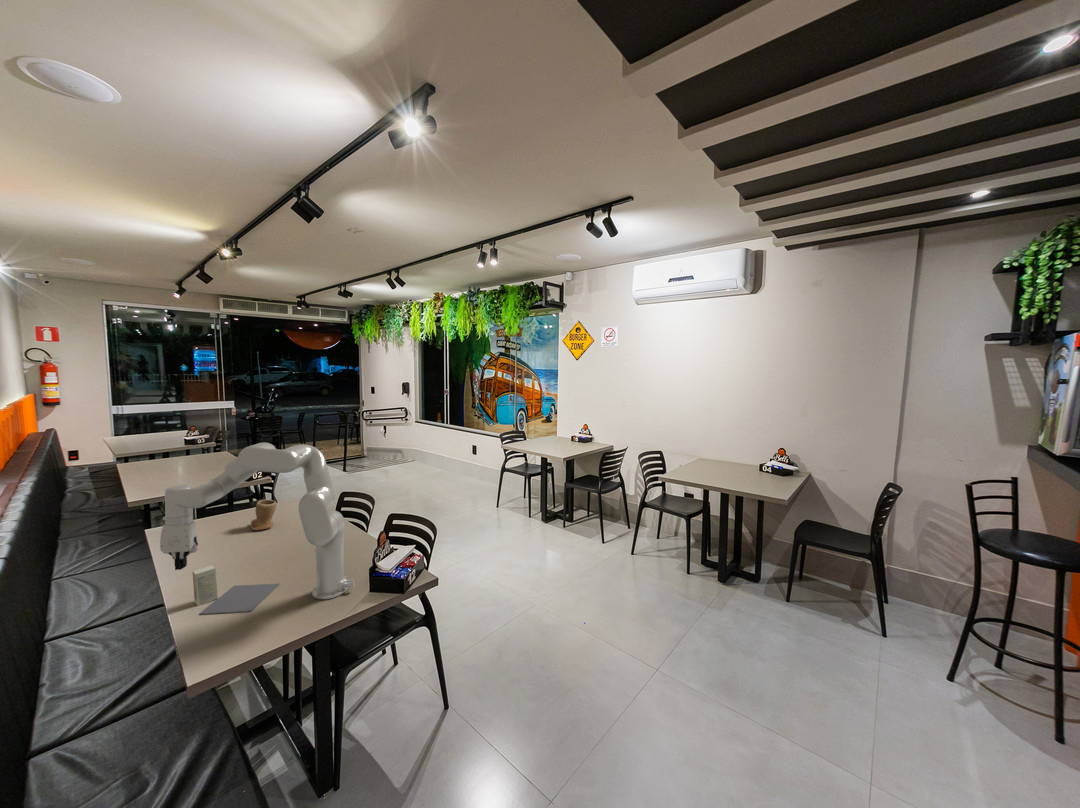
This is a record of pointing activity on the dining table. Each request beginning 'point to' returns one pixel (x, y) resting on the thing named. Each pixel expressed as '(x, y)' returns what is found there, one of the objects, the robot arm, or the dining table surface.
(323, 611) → the dining table surface
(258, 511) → the brown boot
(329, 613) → the dining table surface
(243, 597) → the mat
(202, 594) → the skincare box
